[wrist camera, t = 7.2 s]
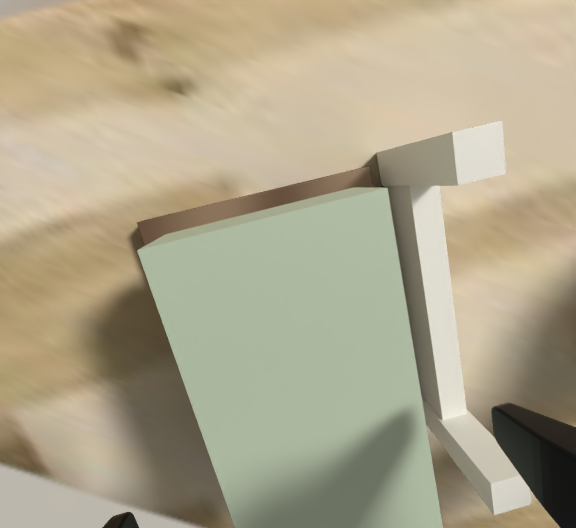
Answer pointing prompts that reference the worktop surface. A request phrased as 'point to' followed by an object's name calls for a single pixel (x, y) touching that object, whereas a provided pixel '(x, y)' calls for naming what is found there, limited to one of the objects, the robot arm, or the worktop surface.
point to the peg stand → (252, 203)
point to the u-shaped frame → (445, 297)
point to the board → (301, 362)
